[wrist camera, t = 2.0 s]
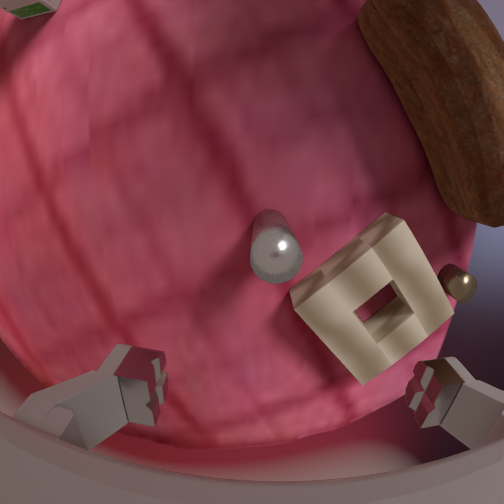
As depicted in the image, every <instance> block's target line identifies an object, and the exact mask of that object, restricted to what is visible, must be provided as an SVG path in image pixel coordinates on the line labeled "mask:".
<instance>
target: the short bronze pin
mask: <svg viewBox="0 0 504 504" xmlns="http://www.w3.org/2000/svg"><path fill="white" fill-rule="evenodd" d="M438 280H439V282H440V284H441V286H442V288H443V290H444V291H445V292H447V293H448V294H449V295H450V296H452V297H453V298H454V299H456V300H457V301H458V302H460V303H466V302H468V301H469V300H470V299H471V298H472V297H473V296H474V294H475V291H476V288H477V281H476V279H475V277H474V276H473V275H471V274H469V273H467V272H466V271H464V270H463V269H461V268H459V267H458V266H456V265H454V264H447V265H445V266H444V267H443V268H442V269H441V270H440V272H439V275H438Z"/></svg>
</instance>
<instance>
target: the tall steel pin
mask: <svg viewBox="0 0 504 504" xmlns="http://www.w3.org/2000/svg"><path fill="white" fill-rule="evenodd" d="M302 261H303V255H302V250H301V248H300V246H299V244H298V242H297V240H296V238H295V236H294V234H293V232H292V231H291V229H290V227H289V225H288V223H287V221H286V219H285V217H284V216H283V215H282V214H281V213H280V212H278V211H276V210H272V209H268V210H264V211H262V212H260V213H259V214H258V215H257V216H256V217H255V219H254V222H253V231H252V242H251V253H250V263H251V267H252V269H253V271H254V273H255V274H256V275H257V276H258V277H259V278H260V279H262V280H263V281H266V282H269V283H274V284H278V283H283V282H286V281H288V280H290V279H292V278H293V277H294V276H295V275H296V274H297V273H298V271H299V270H300V268H301V265H302Z"/></svg>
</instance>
